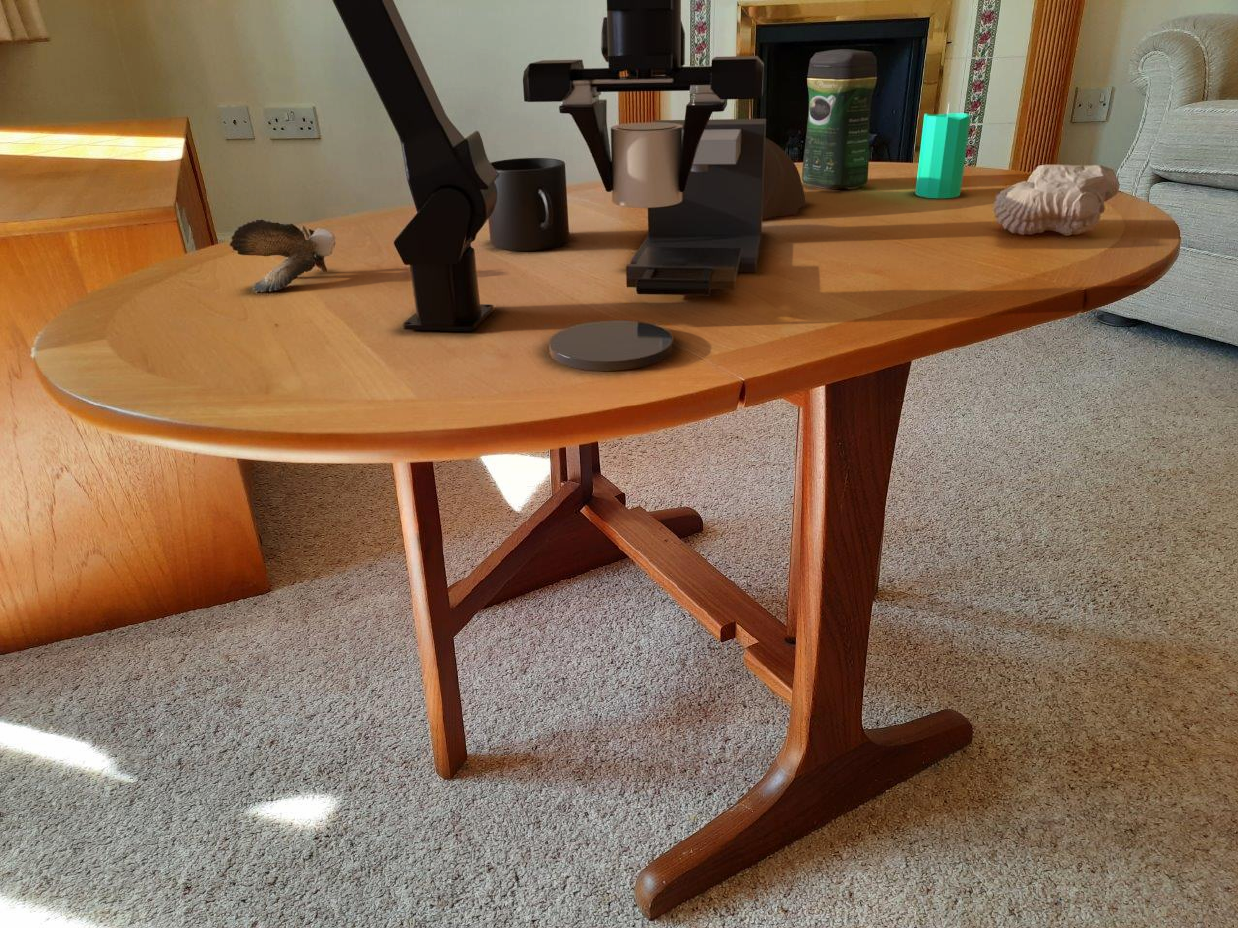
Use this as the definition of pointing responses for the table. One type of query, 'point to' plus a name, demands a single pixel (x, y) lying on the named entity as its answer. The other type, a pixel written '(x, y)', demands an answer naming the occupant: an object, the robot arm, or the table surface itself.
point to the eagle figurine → (283, 250)
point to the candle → (942, 155)
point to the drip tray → (684, 270)
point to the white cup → (646, 164)
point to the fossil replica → (1057, 199)
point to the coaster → (611, 345)
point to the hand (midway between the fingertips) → (645, 191)
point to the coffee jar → (839, 118)
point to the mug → (529, 205)
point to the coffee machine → (717, 194)
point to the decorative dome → (780, 183)
